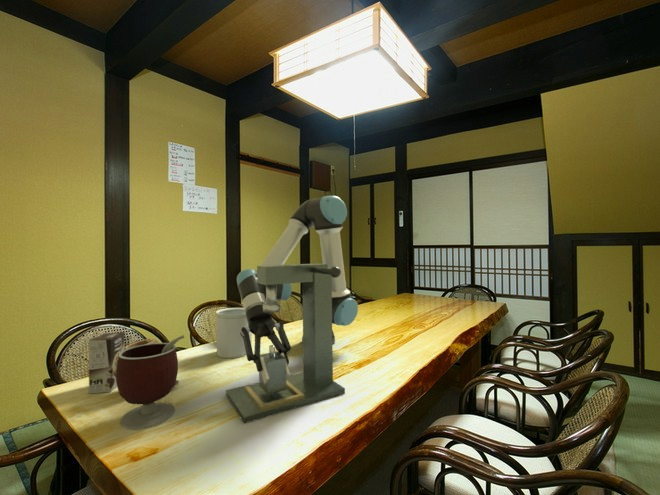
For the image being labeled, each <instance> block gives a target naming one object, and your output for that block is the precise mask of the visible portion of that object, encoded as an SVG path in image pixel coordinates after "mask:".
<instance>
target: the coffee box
mask: <svg viewBox="0 0 660 495" xmlns="http://www.w3.org/2000/svg"><path fill="white" fill-rule="evenodd" d="M124 348H125V332H122V331H121V332H120V331H119V332H118V331H117V332H107V333H102V334H100V335H98V336H96V337H94V338H93V337H92V339H90V340H88V394H98V393H99V394H102V393H111V392H113V391H114V390H115V389H116V388H117V383H116V368H117V362H118V358H119V353H120V352H122V351H123V350H124Z"/></svg>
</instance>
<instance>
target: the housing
mask: <svg viewBox="0 0 660 495" xmlns="http://www.w3.org/2000/svg"><path fill="white" fill-rule="evenodd" d="M268 347H269V351H268V353H262V354H261V353H260V358H261V357H263V358H264V362H265V365H266V369H267V372H268V376H269V380H268V382H267V383H266V384H264V381H263V377H262V374H261V371H260V372H258V376H259V377H258V383H259V386H260V387H261V388H262V389H263V390H264V391H265V392H266V393H267V394H268V395H269V394H273V393H276V392H280V391H284V390H286V358H285V357H284V356H282V355H281V354H279V353H278V351H277V350H276V348H275V345H273V344H271V345H268Z"/></svg>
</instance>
